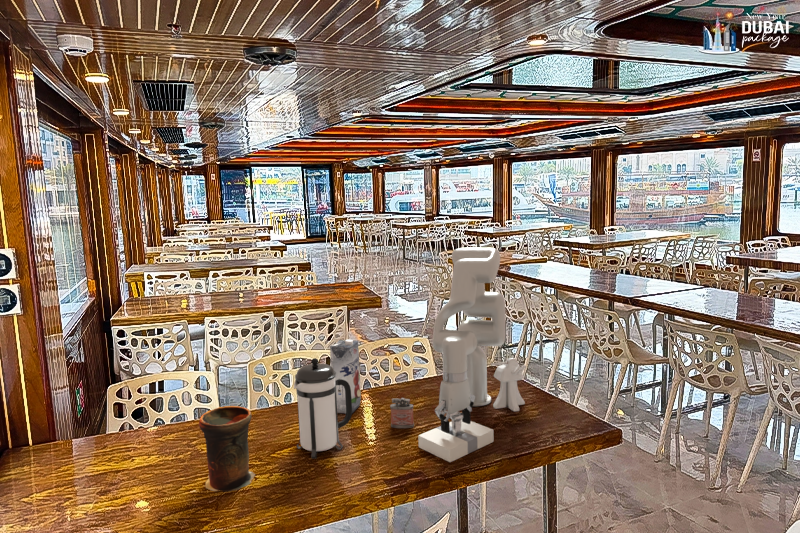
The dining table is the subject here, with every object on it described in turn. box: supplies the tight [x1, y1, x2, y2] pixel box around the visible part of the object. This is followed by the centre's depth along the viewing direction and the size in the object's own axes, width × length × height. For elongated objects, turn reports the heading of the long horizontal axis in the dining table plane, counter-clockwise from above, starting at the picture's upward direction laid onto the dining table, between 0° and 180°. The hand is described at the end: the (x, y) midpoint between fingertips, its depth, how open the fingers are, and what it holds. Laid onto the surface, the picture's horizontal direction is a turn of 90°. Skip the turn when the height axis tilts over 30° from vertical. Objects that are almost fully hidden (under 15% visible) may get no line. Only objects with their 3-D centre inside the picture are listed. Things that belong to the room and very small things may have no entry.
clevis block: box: [417, 420, 495, 463], centre depth 183 cm, size 20×14×4 cm
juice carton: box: [329, 339, 362, 414], centre depth 213 cm, size 9×10×27 cm
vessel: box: [198, 405, 256, 493], centre depth 164 cm, size 14×14×20 cm
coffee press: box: [293, 357, 353, 460], centre depth 182 cm, size 17×16×30 cm
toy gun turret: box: [490, 357, 527, 412], centre depth 212 cm, size 12×13×18 cm
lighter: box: [389, 397, 415, 429], centre depth 198 cm, size 8×3×10 cm, turn 84°
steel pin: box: [449, 411, 463, 437], centre depth 183 cm, size 4×4×10 cm
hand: (456, 427), depth 182 cm, fingers open, 9 cm apart
